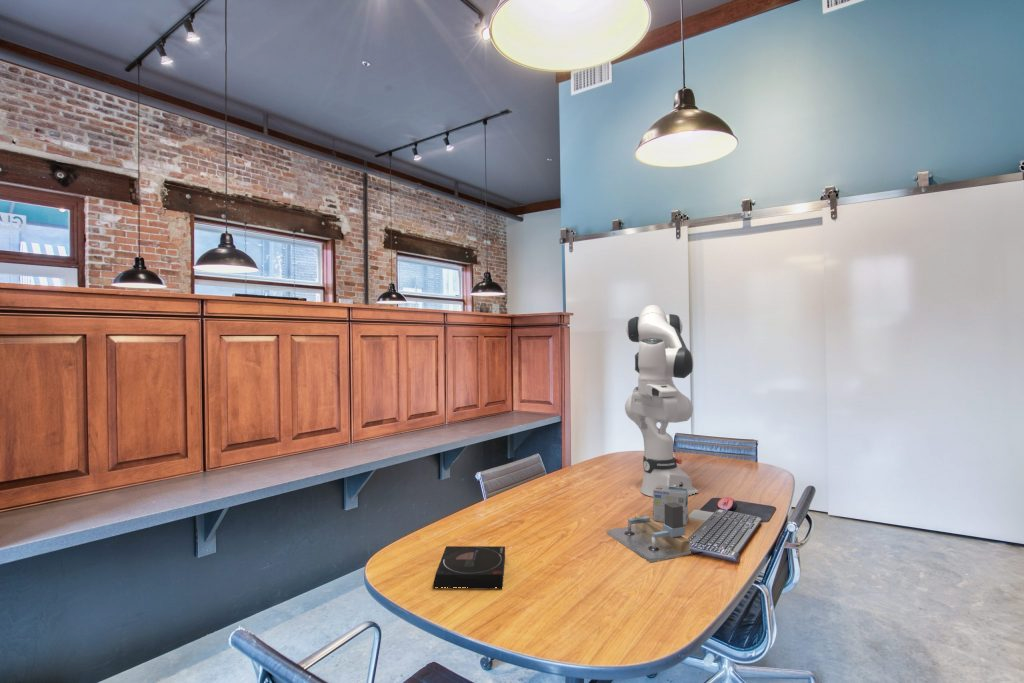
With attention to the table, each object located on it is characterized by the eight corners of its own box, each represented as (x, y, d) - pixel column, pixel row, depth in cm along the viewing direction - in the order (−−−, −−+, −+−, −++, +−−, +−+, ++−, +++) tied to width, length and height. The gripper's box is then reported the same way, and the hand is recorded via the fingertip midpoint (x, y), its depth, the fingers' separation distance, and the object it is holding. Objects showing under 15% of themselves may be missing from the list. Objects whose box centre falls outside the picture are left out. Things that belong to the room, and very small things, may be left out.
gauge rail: (642, 524, 159) (642, 511, 159) (689, 551, 139) (689, 536, 139) (619, 528, 156) (619, 514, 156) (663, 556, 136) (663, 541, 136)
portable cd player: (443, 560, 137) (443, 546, 137) (505, 560, 137) (505, 546, 137) (432, 590, 121) (432, 574, 121) (502, 590, 120) (502, 574, 120)
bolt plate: (654, 525, 161) (654, 521, 161) (702, 552, 140) (702, 548, 140) (606, 533, 155) (606, 529, 155) (649, 562, 134) (649, 558, 134)
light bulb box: (688, 519, 167) (688, 487, 166) (686, 526, 160) (686, 493, 160) (655, 514, 171) (655, 483, 171) (652, 521, 165) (652, 489, 165)
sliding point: (675, 540, 146) (675, 501, 146) (684, 545, 142) (684, 506, 142) (648, 545, 142) (647, 505, 142) (656, 551, 138) (656, 510, 138)
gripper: (625, 386, 167) (626, 427, 167) (664, 392, 148) (664, 438, 148) (641, 385, 169) (641, 426, 169) (681, 391, 150) (681, 436, 150)
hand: (652, 431), depth 158 cm, fingers open, 8 cm apart
